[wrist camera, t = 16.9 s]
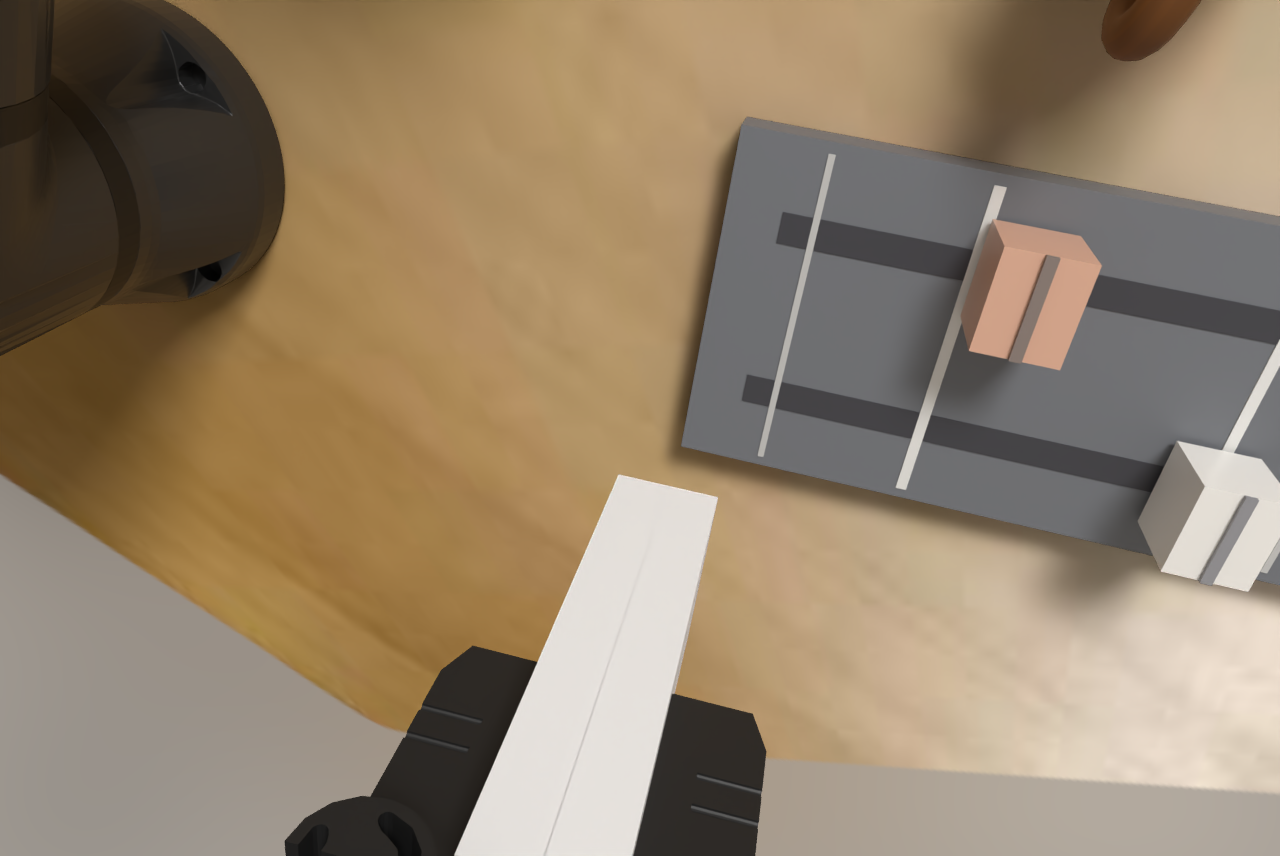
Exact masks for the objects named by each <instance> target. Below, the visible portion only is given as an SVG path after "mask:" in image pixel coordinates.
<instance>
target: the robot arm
mask: <svg viewBox="0 0 1280 856" xmlns="http://www.w3.org/2000/svg"><path fill="white" fill-rule="evenodd" d="M283 200H284V169H283V161H282V154H281V150H280V145H279V141H278V137H277V134H276V131H275V128H274V125H273V122H272V119H271V117H270V114H269V112H268V109H267V107H266V105H265V103H264V101H263V99H262V97H261V95H260V93H259V91H258V90H257V88H256V86H255V84H254V83H253V81H252V79H251V78H250V76H249V75H248V73H247V72H246V70H245V69H244V68H243V66H242V65H241V63H240V62H239V61H238V60H237V58H236V57H235V56H234V55H233V53H232V52H231V51H230V50H229V49H228V48H227V47H226V46H225V45H224V44H223V43H222V42H221V41H220V40H219V39H218V38H217V37H216V36H215V35H214V34H213V33H212V32H211V31H210V30H209V29H207V28H206V27H205V26H204V25H203V24H201V23H200V22H199V21H197V20H196V19H195V18H193V17H192V16H190V15H189V14H187V13H186V12H184V11H183V10H181V9H179V8H178V7H176V6H174V5H172V4H170V3H168V2H166V1H164V0H0V356H1V355H3V354H5V353H7V352H9V351H11V350H13V349H15V348H17V347H19V346H21V345H23V344H25V343H27V342H29V341H31V340H33V339H35V338H37V337H39V336H41V335H43V334H45V333H46V332H48V331H50V330H52V329H54V328H56V327H58V326H60V325H62V324H64V323H66V322H68V321H70V320H72V319H74V318H76V317H78V316H80V315H82V314H84V313H86V312H88V311H90V310H92V309H94V308H96V307H98V306H100V305H115V304H135V303H155V302H175V301H182V300H187V299H192V298H195V297H199V296H202V295H205V294H207V293H210V292H212V291H214V290H216V289H218V288H220V287H221V286H223V285H225V284H227V283H229V282H231V281H233V280H234V279H236V278H238V277H240V276H241V275H243V274H244V273H246V272H247V271H248V270H249V269H251V268H252V267H253V266H254V265H255V264H256V263H257V262H258V261H259V260H260V258H261V257H262V256H263V255H264V253H265V252H266V250H267V249H268V247H269V245H270V244H271V242H272V240H273V238H274V235H275V233H276V230H277V228H278V225H279V221H280V218H281V213H282V208H283ZM717 500H718V497H715V496H711V495H706V494H702V493H697V492H693V491H689V490H684V489H680V488H675V487H671V486H667V485H662V484H658V483H654V482H649V481H645V480H640V479H636V478H632V477H627V476H623V475H618V477H617V480H616V482H615V484H614V487H613V489H612V491H611V494H610V496H609V498H608V501H607V503H606V505H605V507H604V510H603V512H602V514H601V517H600V519H599V521H598V524H597V526H596V528H595V531H594V533H593V535H592V538H591V540H590V542H589V544H588V547H587V549H586V551H585V554H584V556H583V558H582V561H581V563H580V565H579V568H578V570H577V572H576V575H575V577H574V579H573V581H572V584H571V586H570V588H569V591H568V593H567V595H566V598H565V600H564V602H563V605H562V607H561V609H560V612H559V614H558V616H557V618H556V621H555V623H554V625H553V628H552V630H551V632H550V635H549V637H548V639H547V642H546V644H545V646H544V649H543V651H542V653H541V656H540V658H539V660H538V662H535V661H531V660H527V659H523V658H519V657H516V656H512V655H508V654H504V653H500V652H496V651H492V650H488V649H484V648H480V647H476V646H472V647H471V648H469V649H468V650H467V651H465V652H464V653H463V654H461V655H460V656H459V657H458V658H456V659H455V660H454V661H452V662H451V663H450V664H448V665H447V666H446V667H445V668H443V669H442V670H441V671H440V673H439V675H438V677H437V678H436V680H435V682H434V684H433V686H432V687H431V689H430V691H429V693H428V694H427V696H426V698H425V700H424V702H423V704H422V708H421V710H419V711H418V712H417V714H416V716H415V718H414V720H413V721H412V723H411V725H410V727H409V729H408V730H407V735H406V737H405V738H403V739H402V741H401V743H400V745H399V747H398V748H397V750H396V752H395V754H394V756H393V757H392V759H391V761H390V763H389V764H388V766H387V768H386V770H385V772H384V773H383V775H382V777H381V779H380V781H379V782H378V784H377V786H376V788H375V789H374V791H373V793H372V795H371V797H366V796H360V797H355V798H351V799H346V800H342V801H338V802H333V803H331V804H329V805H327V806H326V807H324V808H322V809H320V810H318V811H317V812H315V813H313V814H312V815H310V816H308V817H306V818H305V819H304V820H303V821H302V822H301V823H300V824H299V826H298V827H297V828H296V829H295V830H294V831H293V832H292V833H291V834H290V836H289V837H288V838H287V839H286V840H285V852H286V856H755V852H756V843H757V833H758V829H757V828H758V822H759V814H760V805H761V792H762V786H763V777H764V767H765V758H766V749H765V746H764V744H763V741H762V738H761V735H760V733H759V730H758V727H757V724H756V722H755V719H754V716H753V714H751V713H747V712H743V711H739V710H735V709H731V708H727V707H723V706H720V705H716V704H712V703H708V702H704V701H700V700H696V699H692V698H688V697H684V696H680V695H676V694H675V690H676V685H677V681H678V677H679V672H680V668H681V664H682V660H683V655H684V651H685V647H686V643H687V638H688V634H689V629H690V625H691V620H692V615H693V611H694V606H695V601H696V597H697V592H698V588H699V583H700V578H701V574H702V569H703V564H704V560H705V555H706V551H707V546H708V541H709V537H710V532H711V527H712V523H713V518H714V514H715V509H716V504H717Z"/></svg>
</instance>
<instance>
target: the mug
mask: <svg viewBox="0 0 1280 856" xmlns="http://www.w3.org/2000/svg"><path fill="white" fill-rule="evenodd" d="M1200 2H1201V0H1111V1H1110V3H1109V6H1108V8H1107V11H1106V13H1105V16H1104V20H1103V24H1102V36H1101V39H1102V42H1103V44H1104V47H1105V49H1106V51H1107V53H1108V54H1110V55H1111V56H1112V57H1113V58H1114V59H1118V60H1122V61H1136V60H1141V59H1143V58H1145V57H1147V56H1149V55H1151V54H1152V53H1154V52H1156V51H1158V50H1159V49H1160V48H1161V47H1163V46H1164V45H1165V44H1166V43H1167V42H1168V41H1169V40H1170V39H1171V38H1172V37H1173V36H1174V35H1175V34H1176V32H1177V31H1178V30H1179V29H1180V28H1181V27H1182V25H1183V24H1184V23H1185V22H1186V21H1187V19H1188V18H1189V17H1190V15H1191V14H1192V13H1193V11H1194V10H1195V9H1196V7H1197V6H1198V5H1199V3H1200Z"/></svg>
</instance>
